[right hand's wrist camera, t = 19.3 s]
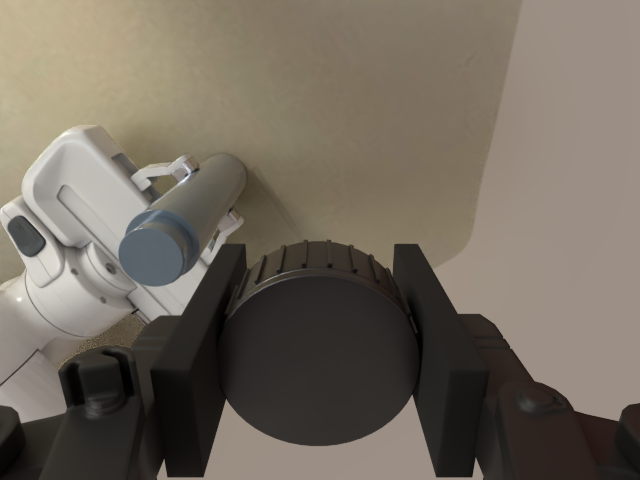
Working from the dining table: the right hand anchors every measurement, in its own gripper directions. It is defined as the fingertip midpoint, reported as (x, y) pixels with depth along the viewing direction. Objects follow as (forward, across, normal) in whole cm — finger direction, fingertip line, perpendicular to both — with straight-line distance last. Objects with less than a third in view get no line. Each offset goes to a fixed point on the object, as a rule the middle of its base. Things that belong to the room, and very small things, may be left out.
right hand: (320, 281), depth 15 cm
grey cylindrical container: (+29, +9, +3) cm, 30 cm away
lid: (-4, 0, 0) cm, 4 cm away
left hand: (+22, +9, +2) cm, 24 cm away
